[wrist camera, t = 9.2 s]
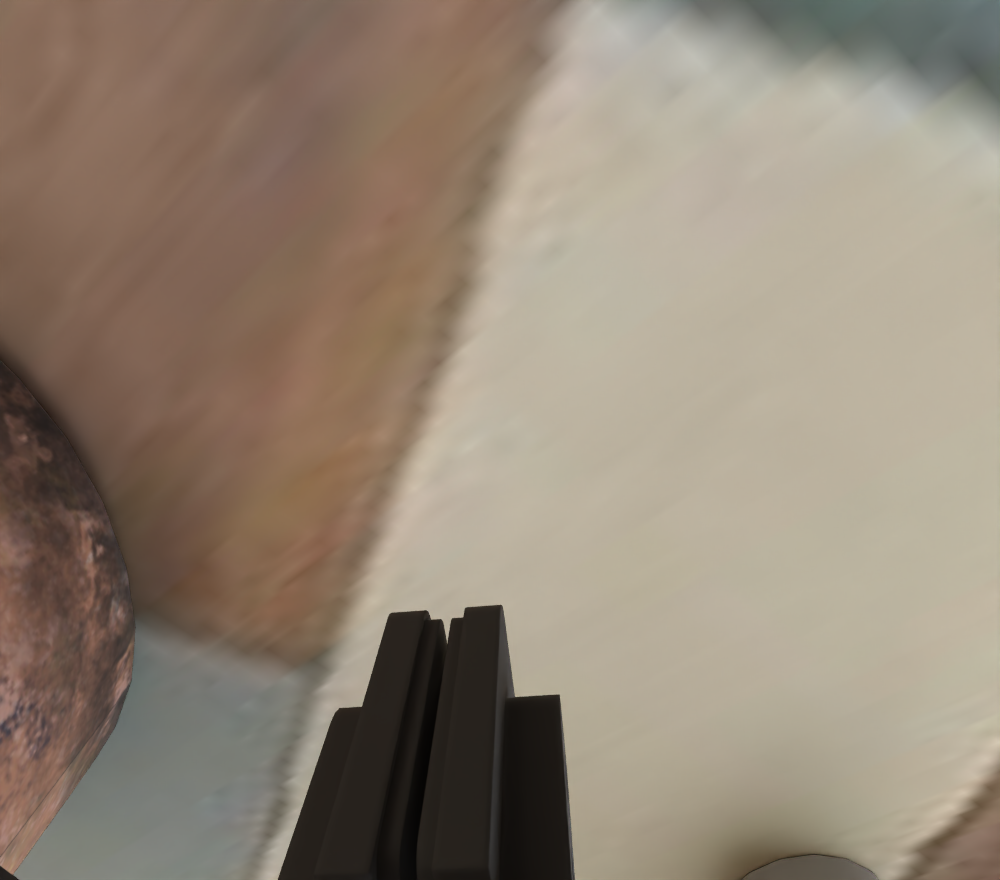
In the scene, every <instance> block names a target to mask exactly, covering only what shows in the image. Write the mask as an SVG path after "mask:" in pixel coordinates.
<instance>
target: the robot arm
mask: <svg viewBox="0 0 1000 880" xmlns="http://www.w3.org/2000/svg"><path fill="white" fill-rule="evenodd" d="M278 880H575V874H574V861H573V847H572V833H571V819H570V806H569V792H568V779H567V767H566V755H565V744H564V733H563V723H562V713H561V703H560V695H543V696H528V697H515V695H514V687H513V679H512V672H511V664H510V656H509V649H508V641H507V633H506V626H505V618H504V611H503V607H502V605H493V606H479V607H466V608H465V611H464V618H452V620H451V624H450V631H449V637H448V644H447V641H446V635H445V629H444V624H443V621H442V620H441V619H437V620H431V618H430V615H429V612H428V611H427V610H424V611H410V612H397V613H391V614H389V617H388V619H387V623H386V626H385V630H384V633H383V636H382V640H381V643H380V647H379V650H378V654H377V657H376V661H375V664H374V667H373V671H372V674H371V678H370V681H369V685H368V688H367V692H366V695H365V698H364V702H363V705H362V707H353V708H339V709H338V710H337V711H336V712H335V714H334V716H333V719H332V721H331V723H330V726H329V729H328V732H327V735H326V738H325V741H324V744H323V747H322V750H321V753H320V756H319V759H318V762H317V765H316V768H315V771H314V774H313V777H312V780H311V783H310V786H309V789H308V792H307V795H306V798H305V801H304V804H303V807H302V809H301V812H300V815H299V818H298V821H297V824H296V827H295V830H294V833H293V836H292V839H291V842H290V845H289V848H288V851H287V854H286V857H285V860H284V863H283V866H282V869H281V872H280V875H279V878H278Z"/></svg>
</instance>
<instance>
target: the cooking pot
mask: <svg viewBox="0 0 1000 880" xmlns="http://www.w3.org/2000/svg"><path fill="white" fill-rule="evenodd" d="M134 641H135V621H134V614H133V608H132V601H131V594H130V587H129V581H128V574H127V568H126V565H125V563H124V560H123V557H122V554H121V551H120V549H119V546H118V543H117V540H116V537H115V534H114V532H113V529H112V526H111V523H110V520H109V518H108V515H107V512H106V509H105V506H104V504H103V502H102V500H101V498H100V496H99V494H98V492H97V491H96V489H95V487H94V485H93V484H92V482H91V480H90V478H89V477H88V475H87V473H86V471H85V469H84V468H83V466H82V464H81V462H80V461H79V459H78V457H77V455H76V454H75V452H74V450H73V448H72V446H71V445H70V443H69V441H68V439H67V438H66V436H65V435H64V434H63V433H62V431H61V430H60V429H59V428H58V426H57V425H56V424H55V423H54V421H53V420H52V419H51V418H50V416H49V415H48V414H47V413H46V411H45V410H44V409H43V408H42V406H41V405H40V404H39V403H38V401H37V400H36V399H35V398H34V396H33V395H32V394H31V393H30V391H29V390H28V389H27V388H26V386H25V385H24V384H23V383H22V381H21V380H20V379H19V378H18V377H17V376H16V375H15V374H14V373H13V372H12V371H11V370H10V369H9V368H8V367H7V366H6V365H5V364H3V363H2V362H1V361H0V880H19V879H17V878H16V877H15V876H13V874H14V873H15V871H16V870H17V868H18V867H19V866H20V864H21V863H22V861H23V860H24V859H25V857H26V856H27V854H28V853H29V852H30V850H31V849H32V847H33V846H34V845H35V843H36V842H37V840H38V839H39V838H40V836H41V835H42V833H43V832H44V831H45V829H46V828H47V827H48V825H49V824H50V822H51V821H52V820H53V818H54V817H55V815H56V814H57V813H58V811H59V810H60V808H61V807H62V806H63V804H64V803H65V801H66V800H67V799H68V797H69V796H70V794H71V793H72V792H73V790H74V789H75V787H76V786H77V784H78V783H79V781H80V780H81V779H82V777H83V776H84V774H85V773H86V771H87V770H88V768H89V767H90V766H91V764H92V763H93V761H94V760H95V758H96V757H97V755H98V754H99V752H100V751H101V749H102V747H103V746H104V744H105V743H106V741H107V739H108V738H109V736H110V735H111V733H112V731H113V730H114V728H115V726H116V723H117V720H118V718H119V715H120V712H121V709H122V706H123V703H124V700H125V697H126V695H127V692H128V689H129V686H130V683H131V679H132V666H133V653H134Z"/></svg>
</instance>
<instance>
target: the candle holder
mask: <svg viewBox="0 0 1000 880" xmlns="http://www.w3.org/2000/svg"><path fill="white" fill-rule="evenodd" d="M742 880H878V879H877V877H876V876H875V875H874V873H873V872H872V871H870V870H868V869H866V868H864V867H862V866H860V865H858V864H856V863H854V862H852V861H850V860H848V859H844V858H837V857H829V856H822V855H814V854H813V855H807V856H800V857H793V858H786V859H780V860H777V861H775V862H773V863H770V864H768V865H766V866H764V867H761V868H759V869H757V870H755V871H753V872H750V873H749V874H747V875H746V876H745V877H744V878H743V879H742Z"/></svg>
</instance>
